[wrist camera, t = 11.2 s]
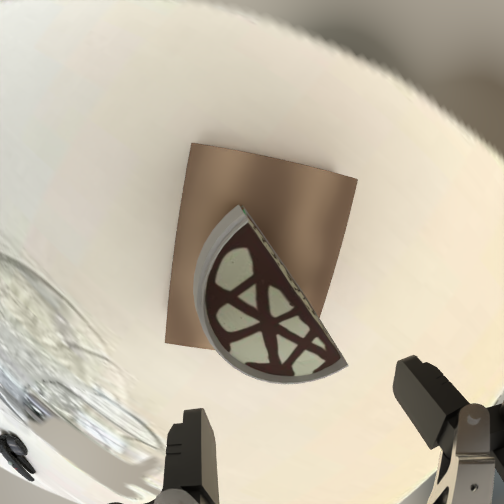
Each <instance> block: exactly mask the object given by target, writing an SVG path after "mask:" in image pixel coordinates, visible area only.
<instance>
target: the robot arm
mask: <svg viewBox="0 0 504 504" xmlns="http://www.w3.org/2000/svg"><path fill="white" fill-rule="evenodd" d="M393 392H394V395H395V398H396V399H397V401H398V402H399V404H400V405H401V407H402V408H403V410H404V411H405V412H406V414H407V415H408V417H409V418H410V420H411V421H412V423H413V424H414V426H415V427H416V429H417V430H418V432H419V433H420V435H421V436H422V438H423V439H424V441H425V442H426V444H427V445H428V447H429V448H430V450H432V449H433V448H435V447H437V446H440V447H441V449H442V450H441V452H440V457H439V463H438V468H437V474H436V478H435V483H434V487H433V490H432V493H431V495H430V497H429V499H428V502H427V504H491V501H492V493H493V484H494V472H495V468H496V470H497V472H498V473H499V475H500V476H501V478H502V480H503V481H504V401H503V403H502V404H499V405H495V406H492V407H488V408H485V407H484V406H483V405H480V404H476V403H473V404H470V403H469V402H468V401H467V400H466V399H465V398H464V397H463V396H462V394H461V393H460V392H459V391H458V390H457V389H456V388H455V387H454V386H453V384H452V383H451V382H449V380H448V379H447V378H446V377H445V376H443V373H442V372H441V371H440V370H439V369H438V368H437V367H435V366H434V365H432V364H430V363H428V362H425V363H422V362H421V361H420V360H419V358H418V357H417V356H415V355H412V356H409V357H407V358H404V359H402V360H399V361H398V362H397V364H396V371H395V377H394V382H393ZM109 504H122V503H117V502H114V503H109ZM145 504H219V492H218V477H217V461H216V443H215V437H214V433H213V430H212V427H211V425H210V423H209V420H208V418H207V415H206V413H205V410H204V409H203V408H199V409H191V410H184V413H183V423H179V424H173V426H172V428H171V429H170V431H169V433H168V436H167V447H166V457H165V469H164V482H163V489H162V491H161V493H160V494H159V495H158V496H157V497H156V499H154V500H153V501H151V502H149V503H145Z"/></svg>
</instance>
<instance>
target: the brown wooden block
mask: <svg viewBox="0 0 504 504" xmlns="http://www.w3.org/2000/svg"><path fill="white" fill-rule="evenodd" d="M357 181H358V179H355V178H352V177H348V176H344V175H341V174H337V173H333V172H330V171H326V170H322V169H318V168H314V167H310V166H306V165H302V164H298V163H294V162H289V161H285V160H280V159H276V158H271V157H267V156H262V155H257V154H252V153H247V152H242V151H237V150H231V149H226V148H220V147H214V146H208V145H202V144H196V143H191V148H190V154H189V159H188V164H187V170H186V176H185V181H184V187H183V193H182V199H181V206H180V212H179V219H178V226H177V233H176V240H175V247H174V255H173V263H172V272H171V281H170V290H169V300H168V311H167V322H166V335H165V343H169V344H175V345H182V346H189V347H196V348H203V349H211V350H215V349H214V348H213V346H212V345H211V344H210V342H209V340H208V339H207V337H206V335H205V333H204V331H203V329H202V326H201V323H200V320H199V317H198V314H197V311H196V308H195V302H194V295H193V282H194V273H195V268H196V264H197V260H198V257H199V255H200V252H201V250H202V248H203V245H204V243H205V242H206V240H207V238H208V237H209V235H210V234H211V232H212V230H213V229H214V228H215V227H216V225H217V224H218V223H219V222H220V221H221V220H222V219H223V218H224V216H225V215H226V214H228V213H229V212H230V211H231V210H232V209H234V208H235V207H236V206H237V205H238V204H239V206H240V207H241V206H242V205H243V206H244V208H245V209H246V210H247V212H248V213H249V215H250V216H251V218H252V219H253V220H254V222H255V223H256V225H257V226H258V228H259V229H260V230H261V232H262V233H263V235H264V236H265V238H266V239H267V241H268V242H269V243H270V245H271V246H272V248H273V249H274V251H275V252H276V254H277V255H278V256H279V258H280V259H281V261H282V262H283V264H284V265H285V267H286V268H287V270H288V271H289V272H290V274H291V275H292V277H293V278H294V280H295V281H296V283H297V284H298V286H299V287H300V289H301V290H302V291H303V293H304V295H305V296H306V298H307V299H308V301H309V303H310V304H311V306H312V307H313V309H314V311H315V312H316V314H317V315H318V317H319V318H320V315H321V312H322V308H323V305H324V302H325V299H326V296H327V293H328V289H329V286H330V283H331V279H332V276H333V273H334V269H335V266H336V262H337V259H338V255H339V252H340V248H341V245H342V241H343V237H344V234H345V230H346V226H347V222H348V218H349V214H350V210H351V206H352V202H353V198H354V194H355V189H356V185H357Z"/></svg>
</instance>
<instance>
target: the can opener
mask: <svg viewBox="0 0 504 504" xmlns="http://www.w3.org/2000/svg"><path fill="white" fill-rule="evenodd" d="M0 453H2V455H3V456H4V457H5V458H6V460H7V461H8V463H9V465H12V467H13V468H14V469H15V470H17V471H18V472H19V473H20V474H21V475H22V476H24V477H25V478H26V479H28V480H29V481H34V478H33V477H32V476H31V475H30V474H29V473H31V474H34V473H35V470H34V469H33V467H32V466H31V465H30V464H29V463H28V462H27V461H26V460H25V459H24V458H23V457H22V456H21V455H27V450H26V447H25V446H24V444H23V443H22V442H21V441H20V440H19V439H18V438H16V437H13V436H10V435H0ZM21 465H22V466H23V467H24V468H25V469H26V470H27V471H28V472H29V473H28V472H27V471H26V470H25V469H24V468H23V467H22V466H21Z"/></svg>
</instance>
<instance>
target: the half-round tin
mask: <svg viewBox="0 0 504 504" xmlns="http://www.w3.org/2000/svg"><path fill="white" fill-rule="evenodd" d="M193 295H194V302H195V308H196V311H197V314H198V317H199V320H200V323H201V326H202V329H203V331H204V333H205V335H206V337H207V339H208V340H209V342H210V344H211V345H212V346H213V348H214V349H215V350H216V351H217V353H218V354H219V355H220V356H221V357H222V358H223V359H224V360H225V361H227V362H228V363H229V364H230V365H231V366H232V367H234V368H235V369H237V370H239V371H240V372H242V373H243V374H245V375H248V376H250V377H252V378H255V379H257V380H261V381H265V382H269V383H278V384H299V383H305V382H311V381H315V380H318V379H322V378H325V377H327V376H330V375H332V374H334V373H336V372H338V371H340V370H342V369H344V368H345V367H347V366H348V364H347V362H346V360H345V359H344V357H343V355H342V354H341V352H340V351H339V349H338V348H337V346H336V344H335V343H334V341H333V340H332V338H331V336H330V335H329V333H328V331H327V330H326V328H325V327H324V325H323V323H322V322H321V320H320V319H319V317H318V315H317V314H316V312H315V311H314V309H313V307H312V306H311V304H310V303H309V301H308V299H307V298H306V296H305V295H304V293H303V291H302V290H301V289H300V287H299V286H298V284H297V283H296V281H295V280H294V278H293V277H292V275H291V274H290V272H289V271H288V270H287V268H286V267H285V265H284V264H283V262H282V261H281V259H280V258H279V256H278V255H277V254H276V252H275V251H274V249H273V248H272V246H271V245H270V243H269V242H268V241H267V239H266V238H265V236H264V235H263V233H262V232H261V230H260V229H259V228H258V226H257V225H256V223H255V222H254V220H253V219H252V218H251V216H250V215H249V213H248V212H247V210H246V209H245V208H244V206H243V205H242V206H241V207H240V206H239V204H238V205H237V206H236V207H235V208H234V209H232V210H231V211H230V212H229V213H228V214H226V215H225V216H224V218H223V219H222V220H221V221H220V222H219V223H218V224H217V225H216V227H215V228H214V229H213V230H212V232H211V234H210V235H209V237H208V238H207V240H206V242H205V243H204V245H203V248H202V250H201V252H200V255H199V257H198V260H197V264H196V268H195V273H194V282H193Z"/></svg>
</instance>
